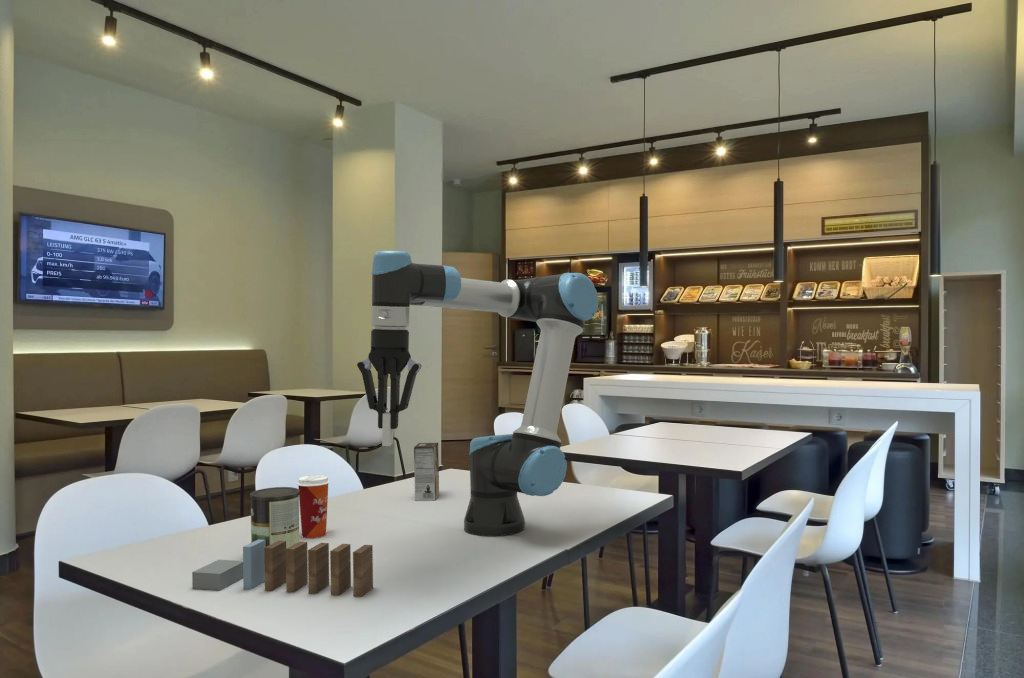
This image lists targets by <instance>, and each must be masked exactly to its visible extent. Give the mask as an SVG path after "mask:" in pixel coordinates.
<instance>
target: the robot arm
mask: <svg viewBox="0 0 1024 678" xmlns="http://www.w3.org/2000/svg"><path fill="white" fill-rule="evenodd" d="M411 257H412V256H411V254H410V253H409V252H408V251H402V250H380V251H376V252H375V253H374V255H373V259H372V260H373V261H372V266H371V267H372V269H371V276H372V279H371V326H372V327H374V328H372V330H370V351H369V353H368V357H367V358H365V359H364V360H362V361H358V362H357V364H356V365H357V368H358V370H359V371H360V374H361V377H362V380H363V385H364V390H365V391H364V392H365V395H366V400H367V404H368V408H369V410H373V411H376V412H377V427H378V429H380V430H381V429H382V430H381V431H382V435H381V436H382V437H381V446H382V447H391V446H392V445H394V430H397V429H398V428H399V413H400V412H402V411H405V410H406V409H408V407H409V404H410V401H411V396H412V393H413V389H414V384H415V381H416V377H417V374H418V373H419V372H420V370H421V368H422V364H421V363H417V362H416V361H415V360H413V359H412V357H411V354H410V351H409V349H410V346H409V345H410V344H409V341H410V340H409V339H410V331H409V330H408V329H407V328H408V327H410V306H423V307H431V308H432V307H433V308H443V309H444V308H445V309H455V310H465V311H479V312H490V313H497V314H498V315H500V316H501V317H504V318H509V319H510V318H512V319H517V320H518V319H519V320H523V321H528V322H529V321H530V322H535V323H536V324H537V326H538V328H540V334H539V338H538V343H537V348H536V353H535V357H534V362H533V367H532V371H531V376H530V381H529V386H528V391H527V395H526V400H525V405H524V411H523V415H522V421H521V424H520V426H519V427H518V428H516V429H515V430H514V431H513V432H512V433H507V434H506V433H505V434H496V435H489V436H488V435H487V436H478V437H475V438H472V440H471V441H470V443H469V453H468V455H469V479H470V481H469V482H470V488H469V489H470V498H469V502H468V504H467V505H468V506H467V510H466V512H465V515H464V519H463V529H464V531H465V533H469V534H472V535H477V536H486V537H494V536H495V537H496V536H497V537H498V536H508V535H509V536H510V535H513V534H517V533H519V532H522V531H524V530H525V528H526V520H525V516H524V513H523V510H522V507H521V503H520V501H519V498H518V493H520V494H524V495H526V496H532V497H533V496H534V497H535V496H536V497H546V496H550V495H552V494H553V493H554V492H555V491H557V490H558V489H559V487H560V486H561V485H562V483H563V481H564V480H565V477H566V474H567V469H568V463H567V460H566V459H565V458H566V455H565V453H564V451H563V450H561V447H562V446H561V445H562V440H561V438H560V437H559V435H558V433H557V432H558V427H559V423H560V422H559V421H560V417H561V412H562V408H563V402H564V398H565V394H566V393H565V392H566V386H567V381H568V377H569V371H570V367H571V362H572V361H571V360H572V355H573V351H574V345H575V341H576V338H577V336H579V335H580V334H582V333H583V332H584V326H585V324H586V323H585V322H586V321H589V320H590V319H592V318H593V317H594V316H595V315H596V313H597V311H598V308H599V295H598V291H597V289H596V288H595V285H594V283H593V281H592V280H591V279H590V277H588V276H587V275H585V274H583V273H580V272H564V273H560V274H553V275H547V276H546V275H545V276H536V277H531V278H525V279H507V278H506V279H504V280H502V281H501V282H500V281H498V282H497V281H491V280H481V279H474V278H466V277H461V274H460V272H459V271H458V269H457V268H455V267H453V266H448V265H444V264H441V265H438V264H427V263H425V264H424V263H422V264H421V263H414V262H412V258H411ZM372 367H373V368H374V369H375V371H376V372H377V391H376V387H375V382H374V377H373V373H372V370H371V369H372ZM406 367H407V370H408V373H407V375H406V378H405V382H404V386H403V390H402V394H401V395H400V391H401V390H400V386H401V382H400V381H401V376H402V375H401V373H402V372H403V370H404V369H405V368H406ZM388 379H390V393H389V394H390V397H389V399H390V400H389V403H390V404H389V405H390V406H389V408H388V382H389V381H388ZM400 396H401V399H400ZM388 409H389V410H388Z"/></svg>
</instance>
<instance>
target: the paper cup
mask: <svg viewBox="0 0 1024 678" xmlns="http://www.w3.org/2000/svg"><path fill="white" fill-rule="evenodd" d="M330 482H331V481H330V480H329V478H328V476H327V475H323V474H321V475H317V474H315V475H306V476H301V477H299V478H298V481H297V483H296V485H297V487H298V488H297V489H299V490H300V492H299V517H300V525H301V526H300V527H301V535H302V536H303V537H302V538H304V537H305V538H304V539H317V538H316V537H319V538H322V537H321V536H323V537H325V536H326V535H327V520H328V504H329V503H328V498H329V484H330ZM325 534H326V535H325ZM324 535H325V536H324Z"/></svg>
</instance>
